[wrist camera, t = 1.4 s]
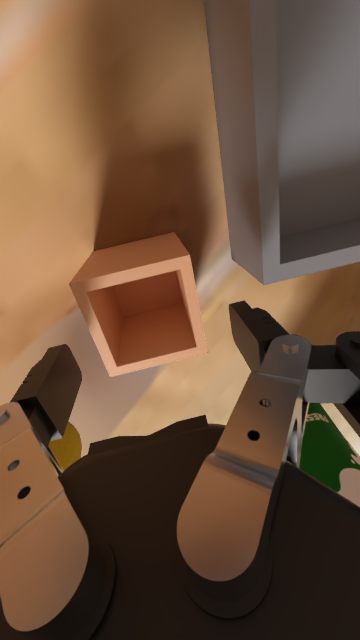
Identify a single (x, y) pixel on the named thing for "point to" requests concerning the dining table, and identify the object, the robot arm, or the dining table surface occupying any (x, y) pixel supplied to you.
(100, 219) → the dining table surface
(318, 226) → the big crate
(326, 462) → the milk carton
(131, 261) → the box
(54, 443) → the lemon
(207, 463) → the robot arm
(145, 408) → the dining table surface
